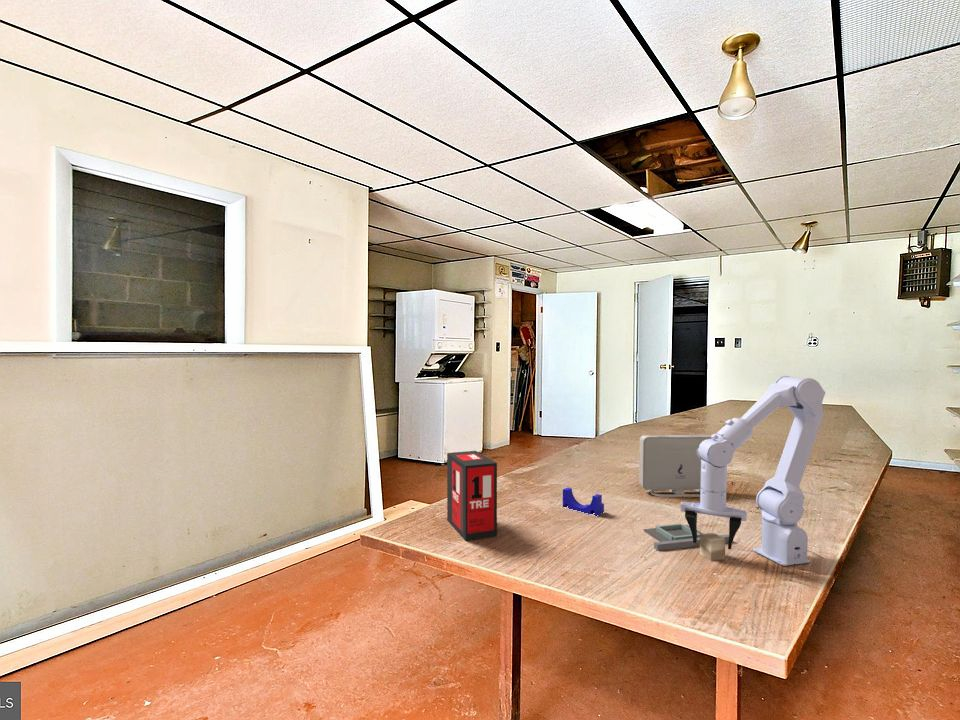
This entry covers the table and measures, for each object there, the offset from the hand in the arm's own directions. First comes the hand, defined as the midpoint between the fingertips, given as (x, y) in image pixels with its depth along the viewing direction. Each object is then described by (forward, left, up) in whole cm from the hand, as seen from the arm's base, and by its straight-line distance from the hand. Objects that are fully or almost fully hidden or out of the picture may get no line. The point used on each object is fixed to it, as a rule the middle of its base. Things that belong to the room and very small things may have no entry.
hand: (712, 544), depth 123 cm
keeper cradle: (+13, 0, -3) cm, 14 cm away
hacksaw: (+24, -44, -4) cm, 51 cm away
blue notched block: (+39, +16, -3) cm, 42 cm away
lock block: (0, 0, -3) cm, 3 cm away
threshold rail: (+7, 0, -3) cm, 8 cm away
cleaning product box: (+32, +53, -3) cm, 62 cm away
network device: (+47, -24, -3) cm, 53 cm away
